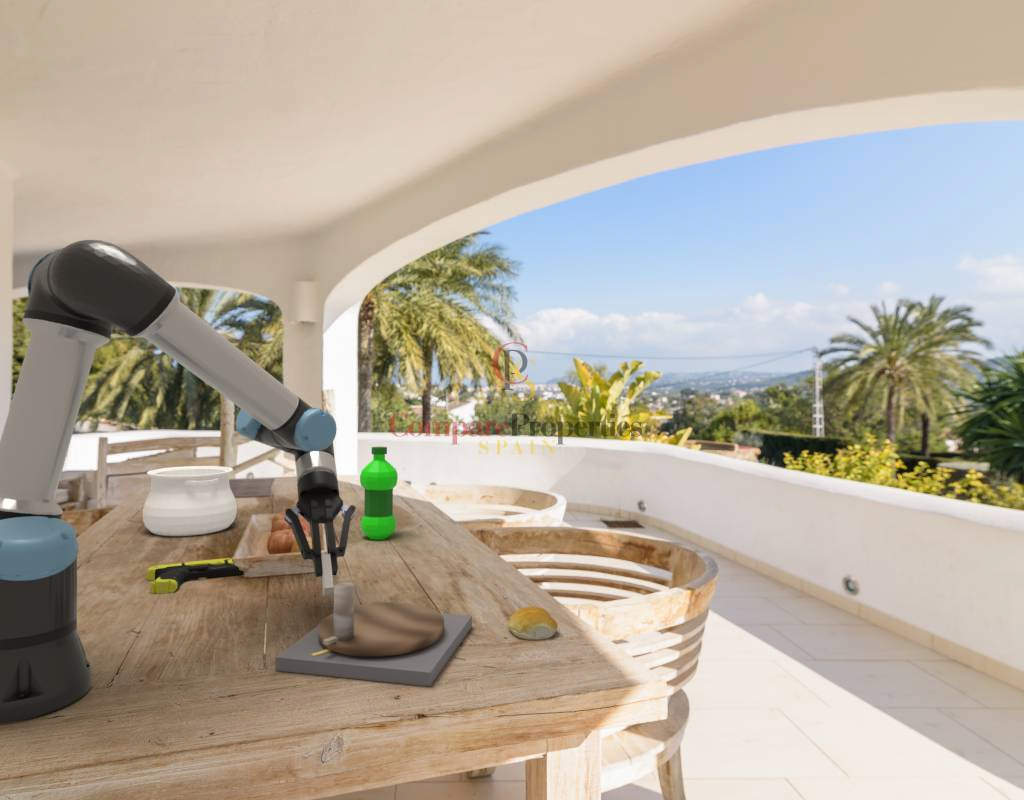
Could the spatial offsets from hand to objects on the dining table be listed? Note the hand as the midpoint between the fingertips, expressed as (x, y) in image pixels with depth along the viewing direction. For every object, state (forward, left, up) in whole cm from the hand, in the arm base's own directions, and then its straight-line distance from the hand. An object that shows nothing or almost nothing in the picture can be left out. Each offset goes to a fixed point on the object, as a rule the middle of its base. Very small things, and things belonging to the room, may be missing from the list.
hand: (328, 591), depth 115 cm
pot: (+65, +75, -7) cm, 100 cm away
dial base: (-4, -11, -7) cm, 14 cm away
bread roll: (+9, -34, -8) cm, 36 cm away
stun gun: (+22, +41, -8) cm, 47 cm away
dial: (-4, -11, -5) cm, 13 cm away
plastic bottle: (+68, +19, -7) cm, 71 cm away
